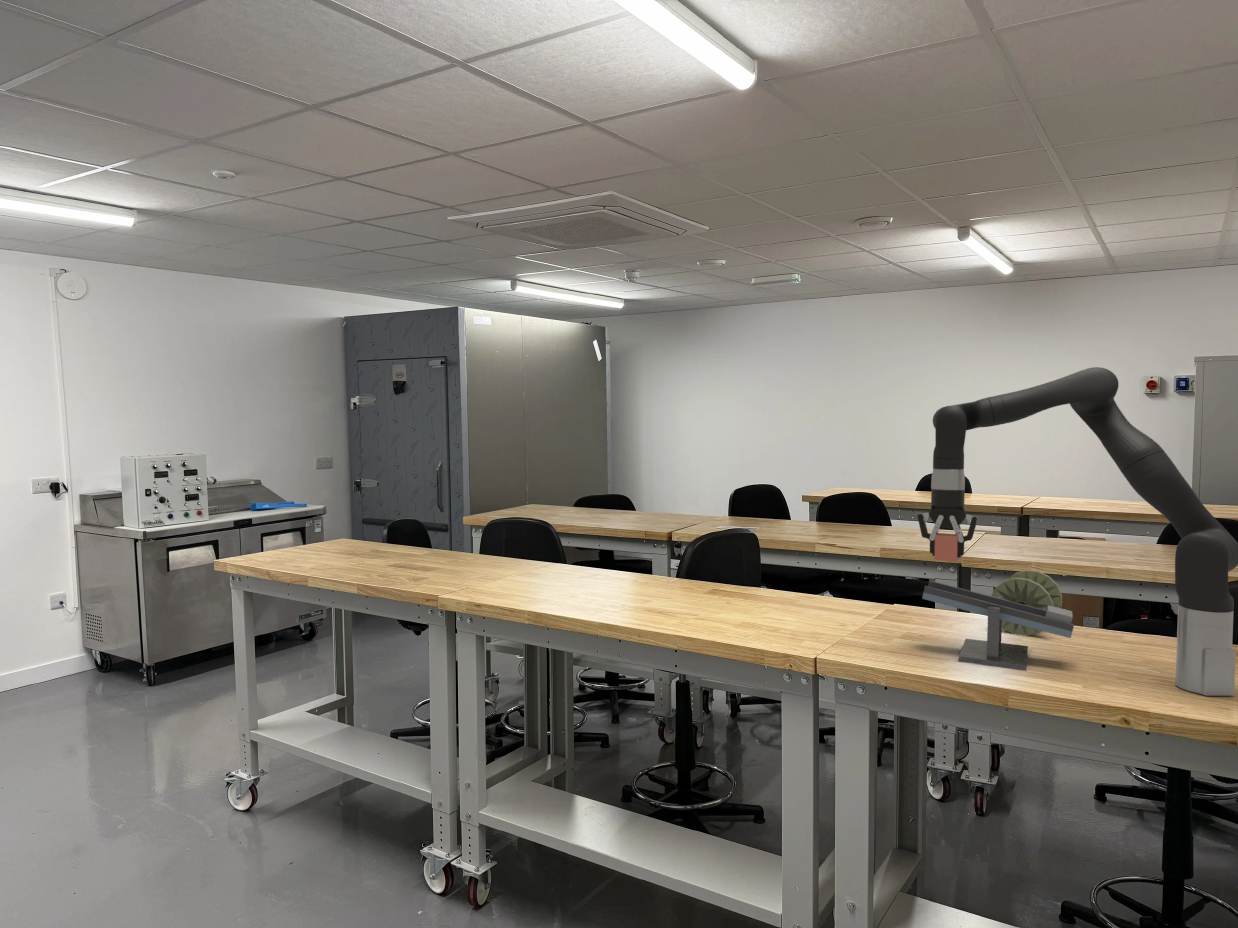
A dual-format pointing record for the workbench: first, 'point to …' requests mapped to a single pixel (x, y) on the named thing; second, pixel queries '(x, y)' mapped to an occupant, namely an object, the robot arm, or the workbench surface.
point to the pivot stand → (994, 647)
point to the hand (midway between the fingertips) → (946, 556)
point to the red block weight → (946, 547)
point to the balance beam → (1002, 608)
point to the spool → (1028, 596)
